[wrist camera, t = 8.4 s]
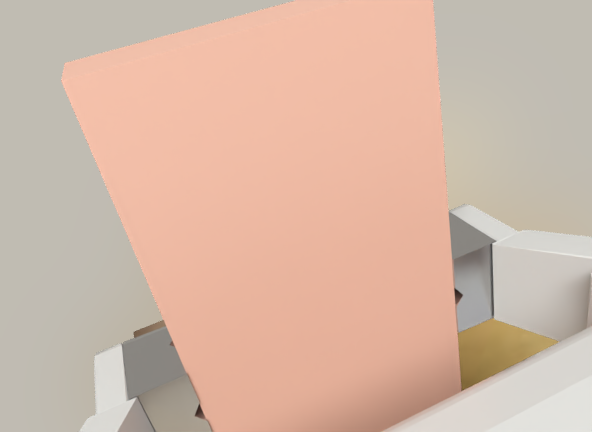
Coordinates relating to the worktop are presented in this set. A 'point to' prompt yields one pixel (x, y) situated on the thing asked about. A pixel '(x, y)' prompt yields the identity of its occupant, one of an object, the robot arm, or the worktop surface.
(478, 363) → the worktop surface
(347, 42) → the domino
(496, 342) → the worktop surface
